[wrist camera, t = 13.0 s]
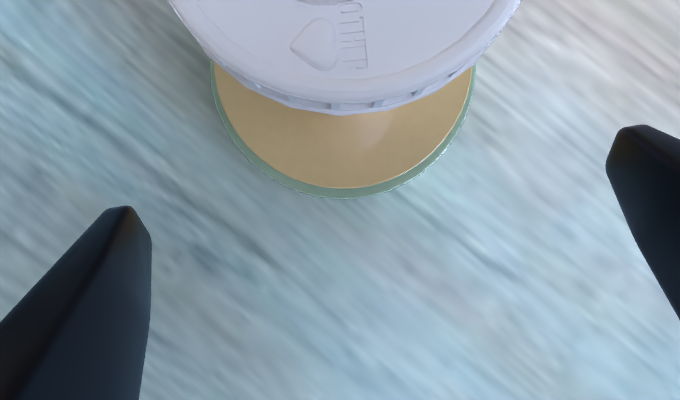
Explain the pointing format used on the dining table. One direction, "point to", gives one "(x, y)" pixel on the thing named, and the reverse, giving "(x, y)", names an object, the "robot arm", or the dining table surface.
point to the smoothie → (344, 47)
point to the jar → (341, 138)
